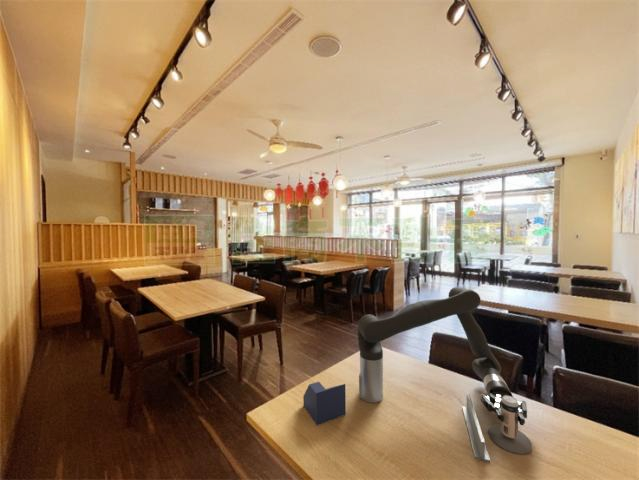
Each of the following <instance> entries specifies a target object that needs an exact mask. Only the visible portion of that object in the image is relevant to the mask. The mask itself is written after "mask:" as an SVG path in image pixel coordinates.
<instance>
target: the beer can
mask: <svg viewBox="0 0 639 480" xmlns="http://www.w3.org/2000/svg"><path fill="white" fill-rule="evenodd" d="M512 396H513V395H512ZM512 396H508V395H504V396H503V397H502V398H501V411H502V413H503V416H504V422H502V421H500V423H499V424H500V431H501V433H502V434H504V435H505V436H507V437H509V438H517V437H518V430H519V421H518V415H519V409H520V407H519V403H518V402H519V401H518V400H517V398H515V397H514V396H513V397H512Z"/></svg>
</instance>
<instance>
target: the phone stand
mask: <svg viewBox="0 0 639 480" xmlns="http://www.w3.org/2000/svg"><path fill="white" fill-rule="evenodd" d="M346 398H347V397H346V384H345V383H343V384H338V385H335V386H331V387H327V388H325V386H323V384H321V382H320V381H316V382H313V383H310V384H308V386H307V389H306V390H305V392H304V394H303V398H302V399H303V401H302V402H303V407H304V408H306V409H305V410H306V411H308V412H307V413H308V415H309V414H310V415H309V416H310V418H311V417H312V418H311V419H312V420H313V422H314V423H315V425H316V426H319V425H320V426H321V425H322V424H325V423H327V422H331V421H333V420H335V419H338V418H341V417H343V416H345V415H347V413H346V412H347V411H346V408H347V407H346V401H347V399H346Z"/></svg>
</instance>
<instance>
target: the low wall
mask: <svg viewBox="0 0 639 480" xmlns="http://www.w3.org/2000/svg"><path fill="white" fill-rule="evenodd" d="M465 405H466V406H464V405H462V406H461V409H462V410H461V411H462V413H463V418H464V422H465V425H466V429H467V433H468V437H469V441H470V444H471V448H472V453H473V456H474V460H477V461H481V462H485V463H489V464H491V458H490V454H489V452H488V449H487V446H486V442H485V438H484V435H483V431H482V429H481V428H482V427H481V425H480V422H479V419H478V416H477V413H476V409H475V406H474V403H473V400H472V397H471V395H470V393H466V404H465Z"/></svg>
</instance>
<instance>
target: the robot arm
mask: <svg viewBox="0 0 639 480" xmlns="http://www.w3.org/2000/svg"><path fill="white" fill-rule="evenodd" d="M480 305H481V297H480V294H478V293H477V292H476V291H475V290H472V289H470V288H466V287H461V286H455V287H453V288H451V289H450V291H449V292H448V297H446V298H438V299H436V298H435V299H427V300H426V299H425V300H419V301H417V302H414V303H411V304H408V305H406V306H404V308H402V309H401V310H400V311H399V312H397V314H395V315H393V316H390V317H386V318H382V319H379V318H378V317H377V316H375V315H373V314H371V313H370V314H369V313H368V314H364V315H362V316H361V318H360V319H359V321H358V324H357V341H358V344H357V345H358V349H359V374H358V397H359V398H358V399H362V400H363V401H365V402H367V403H371V404H374V403H375V404H376V403H379V402H381V401H382V400H383V398H384V351H383V350H384V349H383V348H382V344H381V342H383V341H385V340H387V339H389V338H391V337H393V336H395V335H398V334H400V333H405V332H406V331H410V330H412V329H416V328H419V327H423V326H425V325H428V324H431V323H434V322H436V321H439V320H442V319H446V318H449V317H452V316H457V318H458V320H459V323H460V324H461V326H462V329H463V331H464V333H465V335H466V338H467V340H468V341H467V342H468V345H469V348H470V351H471V352H472V354H473V355H474V356H476V357H478V358H475V359H474V360H472V364H471V367H472V369H473V371H474V373H475V374H476V375H477V376H478V377H479V378H480V379H481V380H482V382H483V386H484V389H485V391H486V393H487V396H486V394H485V393H481V394H480V402H481V403H482V405H484V406H485V408H486V409H487V411H489V412H490V413H491V412H492V413H493V412H494V414H495V416H496V418H497V419H498V420H500V421H502V422H504V416H503V413H502V411H501V398H502V397H503V396H504V395H508V396H512V397H514V396H513V394H512V392H511V390H510V388H509V386H508V385H507V383H506V381H505V380H504V379H503V376H502V375H501V372H502V366H501V364H500V362H499V361H498V359H497V358H496V356H494V354H493V352H492V350H491V349H490V346H489V343H488V340H487V338H486V335H485V333H484V332H483V330H482V328H481V326H480V325H479V324H478V323H477V321H476V319H475V318H474V316H473V314H472V312H473V311H474V310H475V311H476V310H477V309H478V307H479V306H480ZM480 357H481V358H480ZM518 403H519V415H518V424H519V425H520V426H524V425H526V419H527V418H528V405H527V401H526V400H521V401H518Z"/></svg>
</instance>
